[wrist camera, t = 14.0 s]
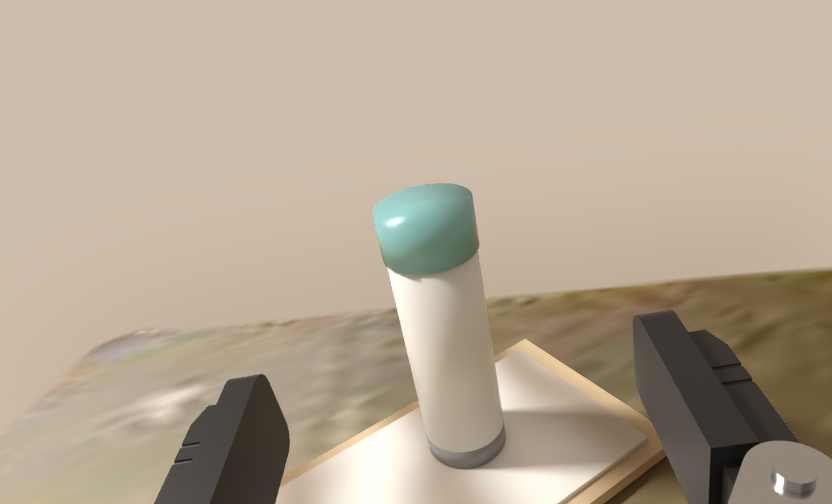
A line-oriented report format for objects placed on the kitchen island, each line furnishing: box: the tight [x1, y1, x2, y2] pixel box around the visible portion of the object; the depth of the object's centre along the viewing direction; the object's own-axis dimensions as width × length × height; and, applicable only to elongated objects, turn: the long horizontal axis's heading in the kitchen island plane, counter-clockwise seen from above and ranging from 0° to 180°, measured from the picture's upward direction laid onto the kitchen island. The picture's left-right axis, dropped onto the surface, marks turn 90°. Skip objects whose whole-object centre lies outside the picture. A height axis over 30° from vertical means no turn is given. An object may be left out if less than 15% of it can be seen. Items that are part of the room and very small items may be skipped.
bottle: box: [372, 183, 506, 469], centre depth 25 cm, size 4×4×12 cm
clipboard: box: [275, 339, 667, 504], centre depth 26 cm, size 18×10×1 cm, turn 121°
